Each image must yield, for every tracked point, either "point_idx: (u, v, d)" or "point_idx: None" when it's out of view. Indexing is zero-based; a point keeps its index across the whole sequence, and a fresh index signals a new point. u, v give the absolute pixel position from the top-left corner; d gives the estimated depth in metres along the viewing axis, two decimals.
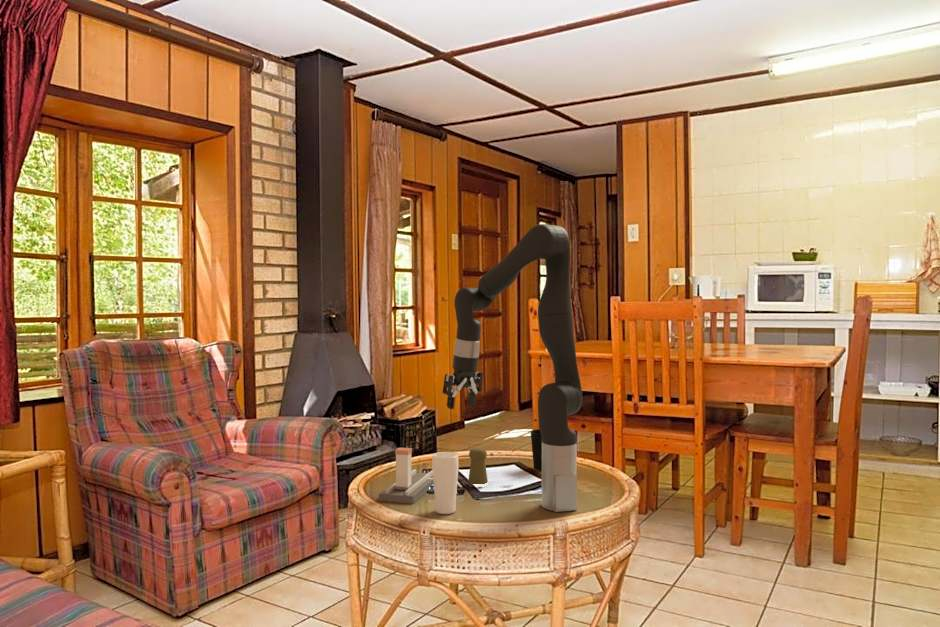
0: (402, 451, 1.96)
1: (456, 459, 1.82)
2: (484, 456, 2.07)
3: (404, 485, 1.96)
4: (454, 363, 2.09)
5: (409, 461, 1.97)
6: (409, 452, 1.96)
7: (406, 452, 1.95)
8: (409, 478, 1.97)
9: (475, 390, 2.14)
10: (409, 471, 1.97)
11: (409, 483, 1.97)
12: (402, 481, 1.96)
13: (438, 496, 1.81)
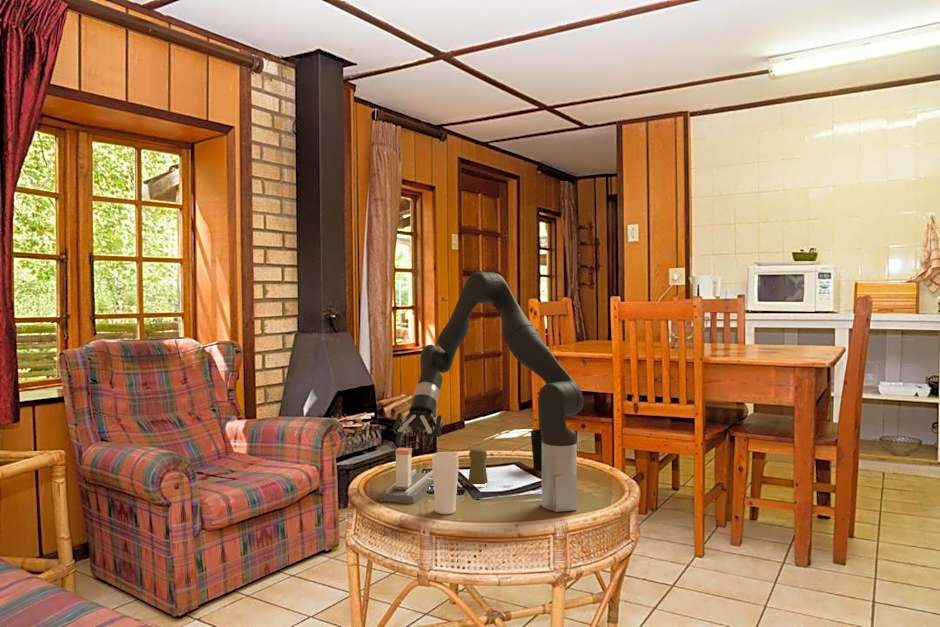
0: (402, 451, 1.96)
1: (456, 459, 1.82)
2: (484, 456, 2.07)
3: (404, 485, 1.96)
4: None
5: (409, 461, 1.97)
6: (409, 452, 1.96)
7: (406, 452, 1.95)
8: (409, 478, 1.97)
9: (429, 430, 2.05)
10: (409, 471, 1.97)
11: (409, 483, 1.97)
12: (402, 481, 1.96)
13: (438, 496, 1.81)
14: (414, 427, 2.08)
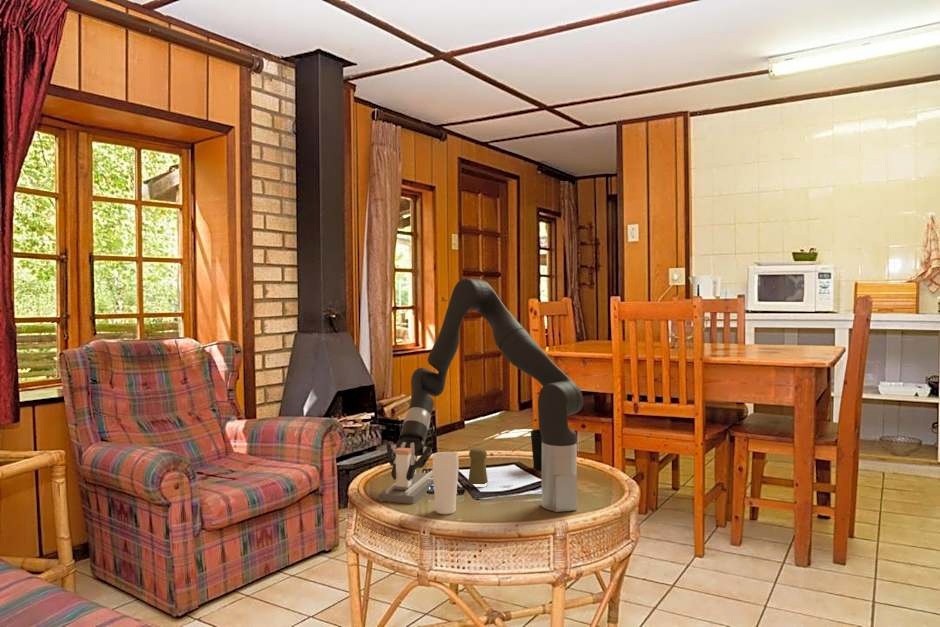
0: (402, 451, 1.96)
1: (456, 459, 1.82)
2: (484, 456, 2.07)
3: (404, 485, 1.96)
4: None
5: (409, 461, 1.97)
6: (409, 452, 1.96)
7: (406, 452, 1.95)
8: None
9: (412, 460, 1.98)
10: None
11: (409, 483, 1.97)
12: (402, 481, 1.96)
13: (438, 496, 1.81)
14: None
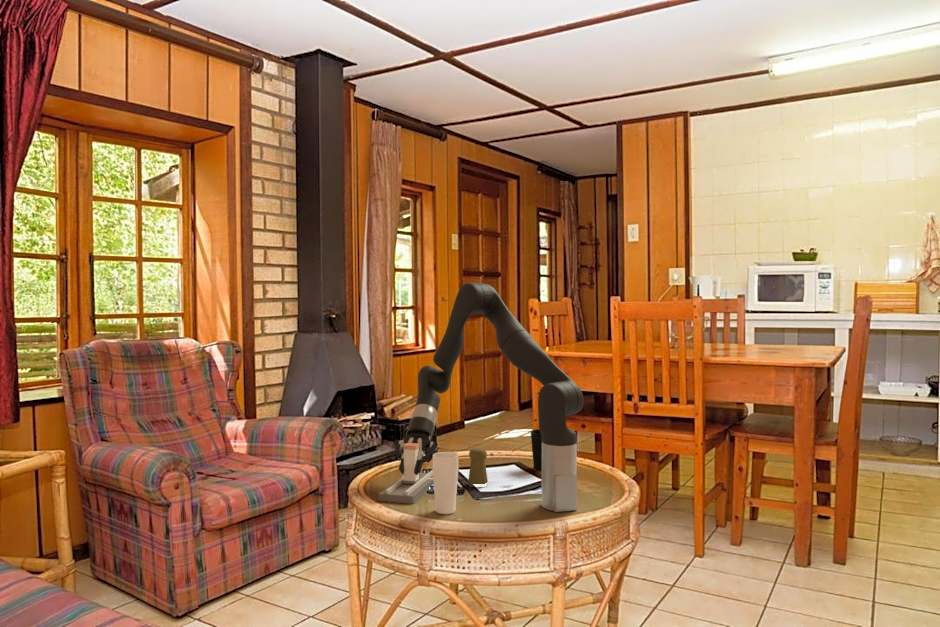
0: (410, 446, 2.02)
1: (456, 459, 1.82)
2: (484, 456, 2.07)
3: (412, 479, 2.02)
4: None
5: (417, 456, 2.03)
6: (417, 447, 2.02)
7: (414, 447, 2.02)
8: None
9: (420, 455, 2.04)
10: None
11: (417, 477, 2.03)
12: (409, 475, 2.02)
13: (438, 496, 1.81)
14: None
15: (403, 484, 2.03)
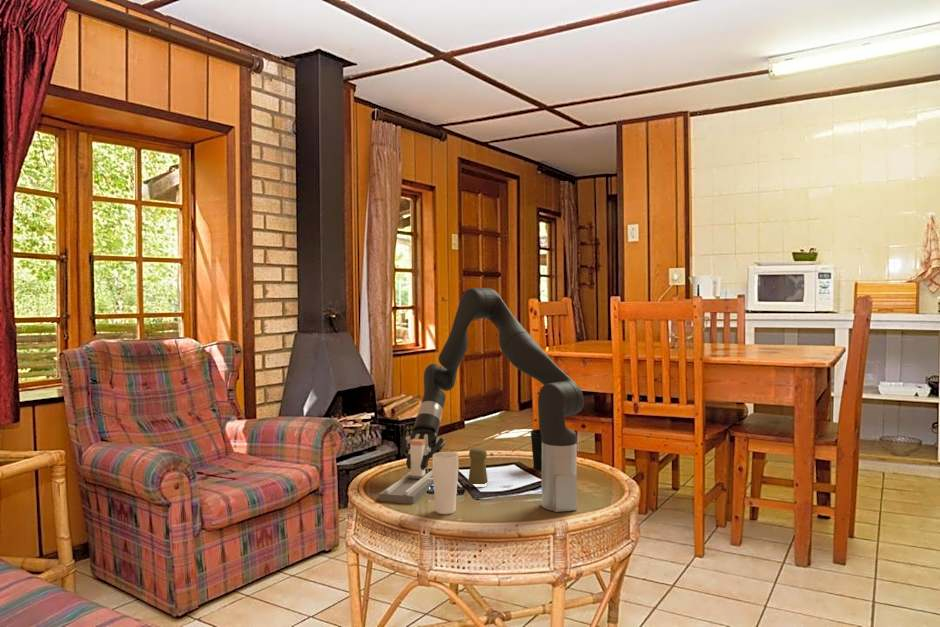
0: (417, 442, 2.07)
1: (456, 459, 1.82)
2: (484, 456, 2.07)
3: (418, 474, 2.08)
4: None
5: (423, 451, 2.08)
6: (423, 443, 2.08)
7: (420, 443, 2.07)
8: None
9: (426, 451, 2.09)
10: None
11: (423, 472, 2.09)
12: (416, 470, 2.08)
13: (438, 496, 1.81)
14: None
15: (403, 484, 2.03)
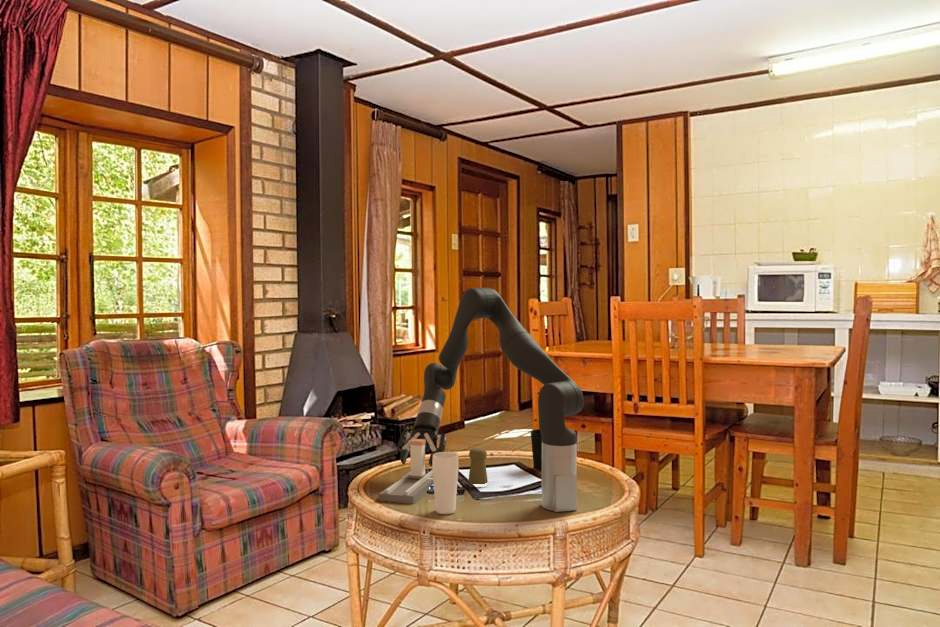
0: (417, 442, 2.07)
1: (456, 459, 1.82)
2: (484, 456, 2.07)
3: (418, 474, 2.08)
4: None
5: (423, 451, 2.08)
6: (423, 443, 2.08)
7: (420, 443, 2.07)
8: (423, 467, 2.09)
9: (433, 447, 2.10)
10: (423, 461, 2.09)
11: (423, 472, 2.09)
12: (416, 470, 2.08)
13: (438, 496, 1.81)
14: None
15: (403, 484, 2.03)
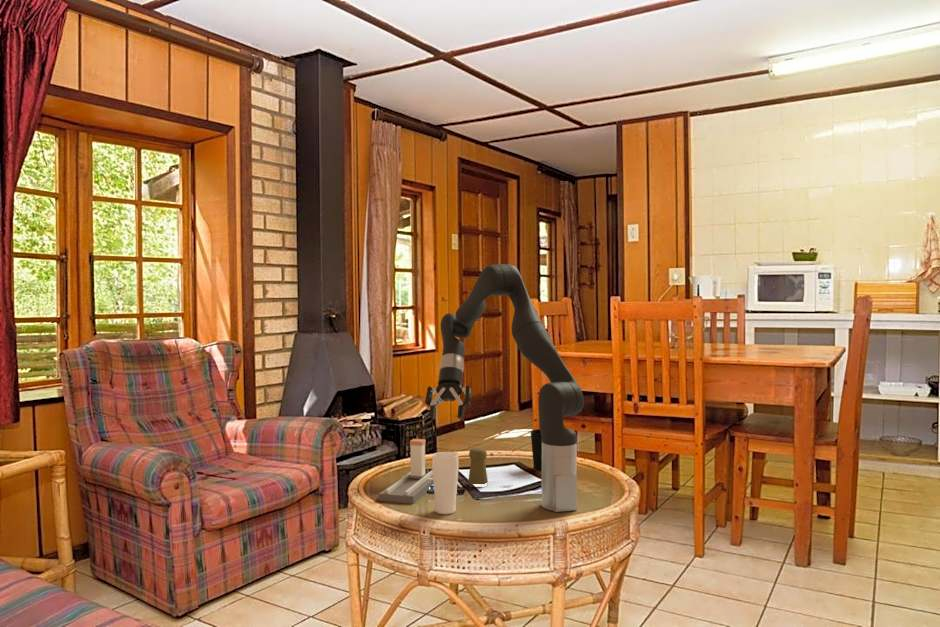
0: (417, 442, 2.07)
1: (456, 459, 1.82)
2: (484, 456, 2.07)
3: (418, 474, 2.08)
4: None
5: (423, 451, 2.08)
6: (423, 443, 2.08)
7: (420, 443, 2.07)
8: (423, 467, 2.09)
9: (460, 401, 2.18)
10: (423, 461, 2.09)
11: (423, 472, 2.09)
12: (416, 470, 2.08)
13: (438, 496, 1.81)
14: (445, 399, 2.21)
15: (403, 484, 2.03)
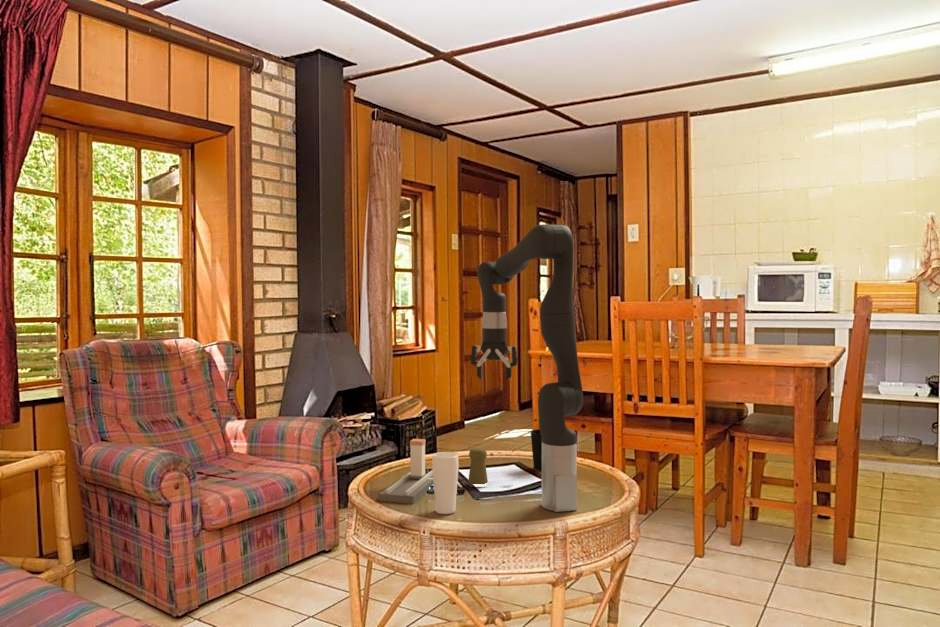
0: (417, 442, 2.07)
1: (456, 459, 1.82)
2: (484, 456, 2.07)
3: (418, 474, 2.08)
4: None
5: (423, 451, 2.08)
6: (423, 443, 2.08)
7: (420, 443, 2.07)
8: (423, 467, 2.09)
9: (507, 363, 2.15)
10: (423, 461, 2.09)
11: (423, 472, 2.09)
12: (416, 470, 2.08)
13: (438, 496, 1.81)
14: (491, 359, 2.17)
15: (403, 484, 2.03)
